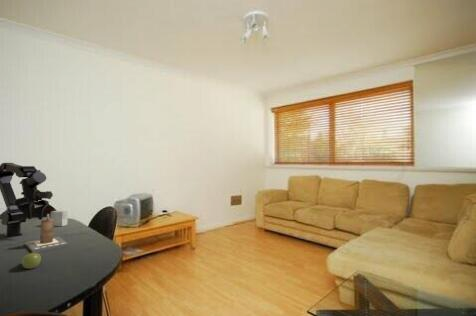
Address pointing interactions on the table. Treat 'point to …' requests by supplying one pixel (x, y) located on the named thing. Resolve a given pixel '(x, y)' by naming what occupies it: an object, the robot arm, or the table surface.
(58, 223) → the medicine box
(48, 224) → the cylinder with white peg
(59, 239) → the grey flat block
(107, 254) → the table surface
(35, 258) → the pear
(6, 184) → the robot arm
